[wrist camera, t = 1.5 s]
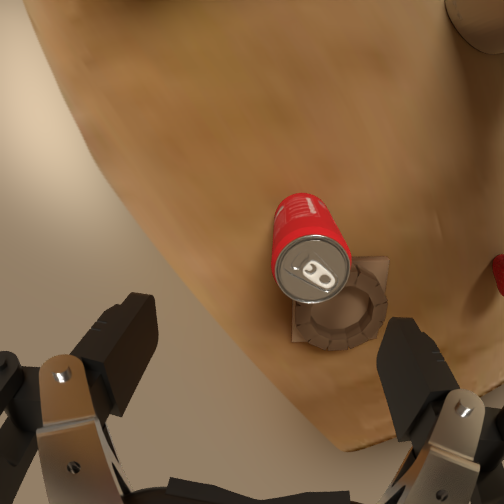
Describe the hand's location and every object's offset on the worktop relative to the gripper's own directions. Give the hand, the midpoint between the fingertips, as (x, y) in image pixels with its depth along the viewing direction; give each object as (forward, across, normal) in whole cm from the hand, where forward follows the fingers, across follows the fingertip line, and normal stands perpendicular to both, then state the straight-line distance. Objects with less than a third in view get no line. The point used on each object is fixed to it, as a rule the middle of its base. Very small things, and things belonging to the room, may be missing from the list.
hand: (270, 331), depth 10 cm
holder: (+21, -8, +11) cm, 25 cm away
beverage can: (+21, -2, +2) cm, 21 cm away
